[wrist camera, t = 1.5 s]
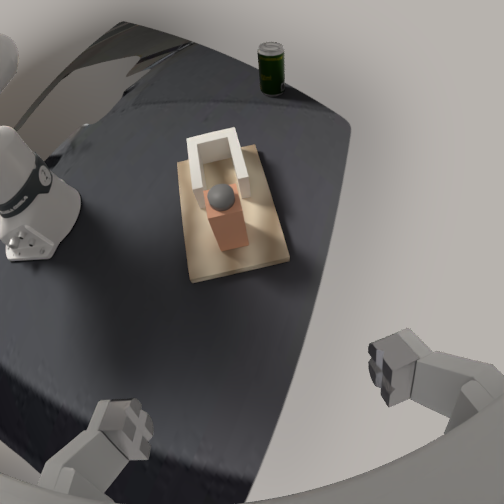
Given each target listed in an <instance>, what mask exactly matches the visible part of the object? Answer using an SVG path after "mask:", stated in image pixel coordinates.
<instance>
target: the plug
mask: <svg viewBox="0 0 504 504" xmlns="http://www.w3.org/2000/svg"><path fill="white" fill-rule="evenodd" d="M203 193H204V199H205V206H206V212H207V218H208V221H209V223H210V226H211V228H212V231H213V233H214V236H215V238H216V240H217V243H218V245H219V248H220V250H221V252H222V251H226V250H230V249H235V248H239V247H243V246H248V245H249V241H248V236H247V231H246V226H245V221H244V216H243V211H242V206H241V202H240V198H239V194H238V190H237V185H236V183H235V184H230V185H227V184H217V185H215V186H213V187H212V188H211V189H209V190H205V191H203Z"/></svg>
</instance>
